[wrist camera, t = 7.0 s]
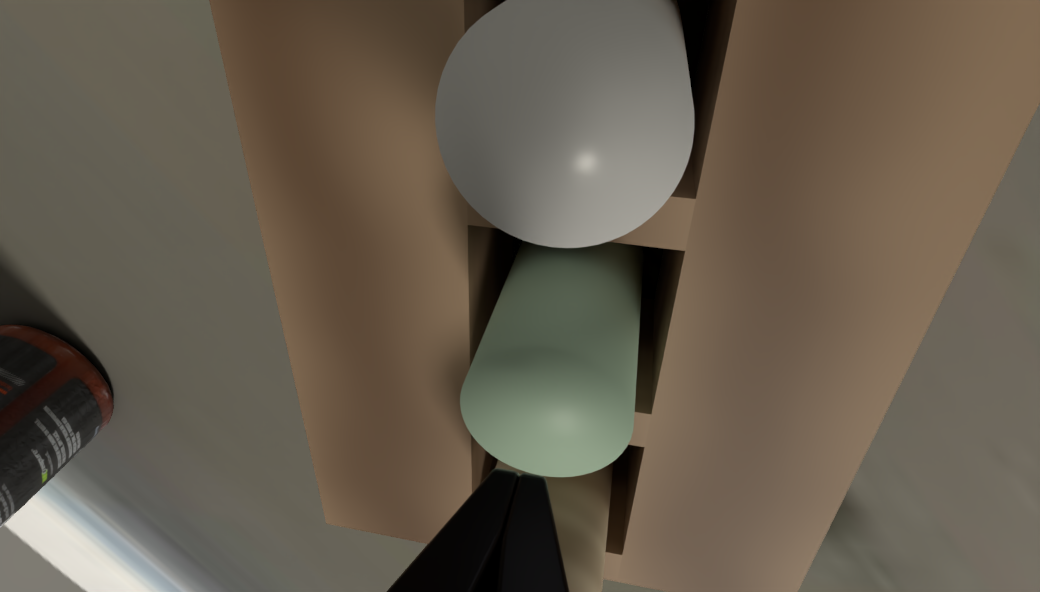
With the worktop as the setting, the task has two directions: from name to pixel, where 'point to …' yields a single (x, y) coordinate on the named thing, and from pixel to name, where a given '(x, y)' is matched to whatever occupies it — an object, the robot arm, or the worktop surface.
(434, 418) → the wooden plug holder
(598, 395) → the plug green
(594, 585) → the plug beech
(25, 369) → the supplement bottle
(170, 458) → the worktop surface
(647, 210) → the plug grey
